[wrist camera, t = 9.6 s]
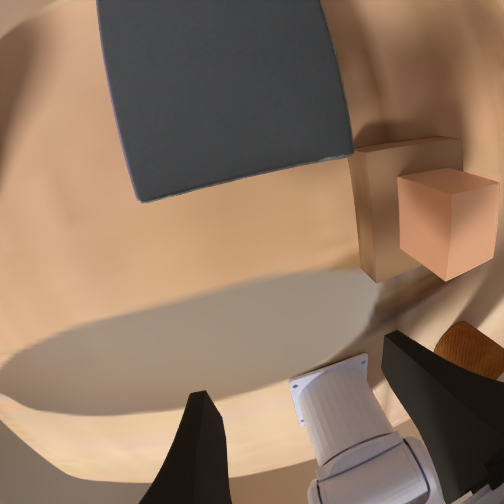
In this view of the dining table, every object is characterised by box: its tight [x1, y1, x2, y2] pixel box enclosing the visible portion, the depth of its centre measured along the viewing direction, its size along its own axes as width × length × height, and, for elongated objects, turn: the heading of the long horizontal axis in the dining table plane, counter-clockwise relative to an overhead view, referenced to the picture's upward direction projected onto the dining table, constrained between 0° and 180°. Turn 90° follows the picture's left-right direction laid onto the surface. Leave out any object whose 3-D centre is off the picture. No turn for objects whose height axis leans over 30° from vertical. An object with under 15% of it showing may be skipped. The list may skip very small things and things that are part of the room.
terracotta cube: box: [397, 168, 500, 282], centre depth 15 cm, size 5×5×5 cm
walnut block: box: [348, 136, 463, 283], centre depth 18 cm, size 9×9×3 cm
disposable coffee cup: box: [434, 321, 504, 382], centre depth 22 cm, size 10×10×12 cm
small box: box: [96, 0, 355, 203], centre depth 9 cm, size 11×6×10 cm, turn 12°
